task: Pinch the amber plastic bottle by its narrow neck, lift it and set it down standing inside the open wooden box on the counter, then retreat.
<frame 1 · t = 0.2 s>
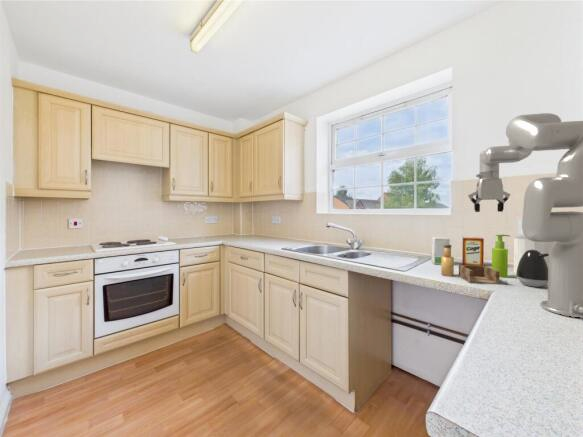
hand: (488, 211, 124), 31 cm above the worktop, fingers open, 9 cm apart
open wooden box: (478, 280, 117), on the worktop
skincare box: (440, 263, 153), on the worktop
amber bottle: (447, 275, 126), on the worktop
container: (533, 275, 126), on the worktop
baking soda box: (472, 265, 148), on the worktop
soap dispenser: (500, 276, 123), on the worktop
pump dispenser: (532, 285, 108), on the worktop
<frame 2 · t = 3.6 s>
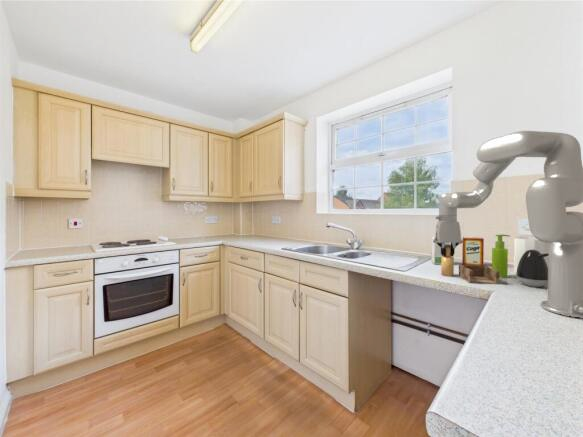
hand: (447, 255, 126), 10 cm above the worktop, fingers closed on amber bottle, 2 cm apart
amber bottle: (447, 275, 126), on the worktop, touching gripper
everything else where it was.
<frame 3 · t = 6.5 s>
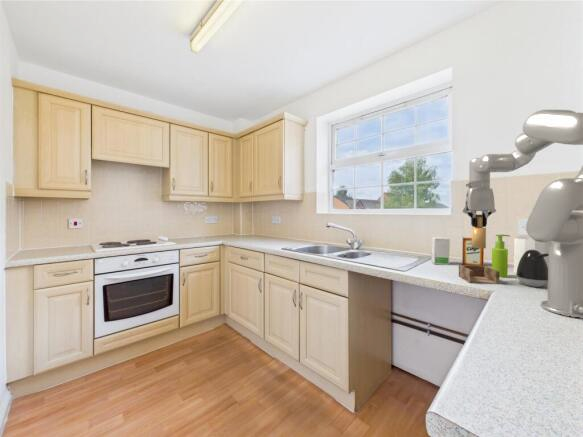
hand: (478, 226, 116), 25 cm above the worktop, fingers closed on amber bottle, 2 cm apart
amber bottle: (478, 247, 116), point 15 cm above the worktop, touching gripper
everything else where it was.
when the fingers open (11 cm above the worktop, at t = 9.5 s): amber bottle stays where it is, resting on open wooden box.
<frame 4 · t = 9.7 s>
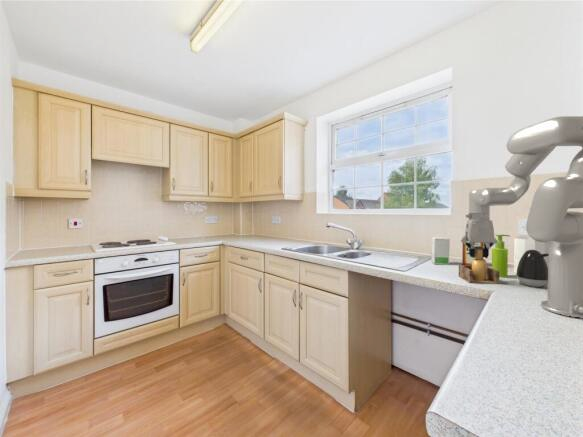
hand: (478, 256, 116), 11 cm above the worktop, fingers open, 4 cm apart
amber bottle: (478, 279, 116), point 1 cm above the worktop, touching open wooden box
everything else where it was.
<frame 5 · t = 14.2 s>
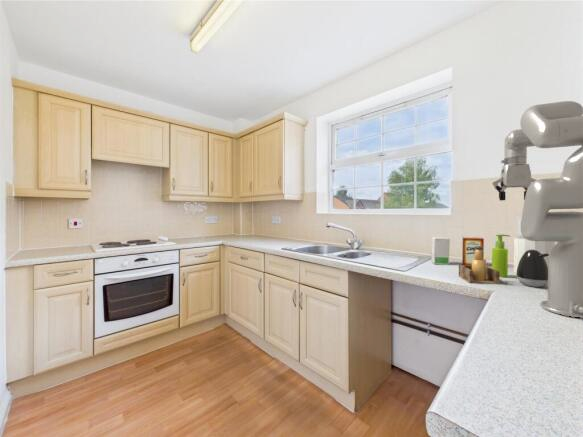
hand: (514, 200, 116), 36 cm above the worktop, fingers open, 9 cm apart
nothing on the worktop moved.
at the end: amber bottle 0.1 cm from the open wooden box (horizontally); amber bottle tilted 1°; the gripper is holding nothing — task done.
